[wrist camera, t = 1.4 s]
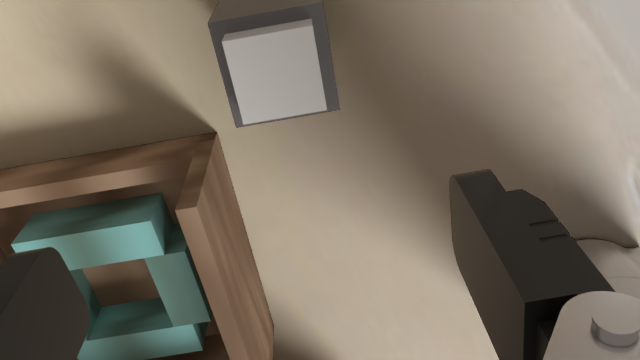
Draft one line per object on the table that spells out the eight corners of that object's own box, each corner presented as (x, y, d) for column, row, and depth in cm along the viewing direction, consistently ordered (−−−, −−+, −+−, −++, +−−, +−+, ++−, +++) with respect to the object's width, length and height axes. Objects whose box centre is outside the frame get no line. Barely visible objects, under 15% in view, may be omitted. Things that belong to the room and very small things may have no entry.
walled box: (216, 131, 31) (196, 207, 24) (273, 325, 39) (270, 423, 32) (-45, 177, 32) (-139, 263, 25) (64, 358, 40) (17, 461, 33)
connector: (312, -37, 27) (324, 8, 18) (325, 45, 29) (342, 120, 20) (231, -21, 27) (203, 30, 18) (250, 59, 29) (233, 138, 20)
